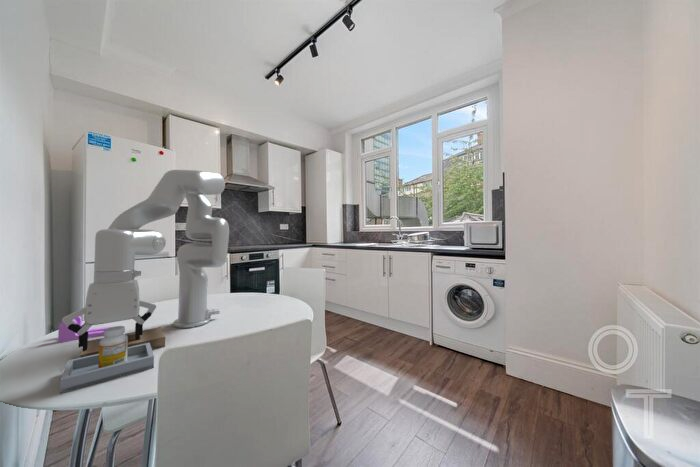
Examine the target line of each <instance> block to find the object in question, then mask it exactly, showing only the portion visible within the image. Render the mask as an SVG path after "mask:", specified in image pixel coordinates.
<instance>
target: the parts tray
mask: <svg viewBox="0 0 700 467" xmlns="http://www.w3.org/2000/svg"><path fill="white" fill-rule="evenodd" d="M153 352H154V351H153V349H152V348H151V345H150V343H145V344H141V345H136V346H132V347H128V351H127V362H123V363H118V364H114V365H110V366H106V367H102V368H98V360H99V354H95V355H91V356H86V357H82V358H80V357H78V358H74V359H69V360H67V362H66V364H65V367H64V370H63V372H62V375H61V378H60V388H59V390H60V391H59V394H64V393H67V392H71V391H74V390H77V389H82V388H84V387H85V388H86V387H89V386H91V385H96V384H99V383H102V382H107V381H110V380H111V381H112V380H114V379H117V378H120V377H121V378H122V377H125V376H128V375H132V374H135V373H139V372H143V371H148V370H150V369H153V368H154V364H155V355H154V353H153ZM63 392H64V393H63Z"/></svg>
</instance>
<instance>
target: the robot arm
mask: <svg viewBox="0 0 700 467" xmlns="http://www.w3.org/2000/svg"><path fill="white" fill-rule="evenodd" d="M225 187H226V182H225V178H224V177H223V175H221V174H220V173H218V172H213V171H203V170H195V169H194V170H193V169H170V170H168V171H167V172H165V173H164V174H163V176H161V178H160V179H159V182H158V183H157V184H156V185H155V187H154V189H153V191H151V193H150V195H149V196H148V197H147V198H146V199H144V200H143V201H141V202H138V203H137V204H135V205H133V206H132V207H130V208H129V207H128V209H126V210H125V211H123V212H121V213H120V214H119V215H118V216H117V217H115V219H114V220H113V221H112V222H111V224H110V226H109V227H108V228H107V229H105V228H104V229H100V230H98V231H97V232H96V234H95V238H94V240H95V241H94V264H93V282H92V283H89V285H88V288H87V293H86V298H85V305H84V307H82V308H80V309H78V310H76V311H74V312H72V313H69V314H67V315H66V316H64V317H62V319H61V322H63V323H64V324H65V325H66V326H67V327H68V329H69V330H71V331H73V332H75V333H77V335H79V339H78V348H81V351H86V350H87V347H88V341H89V338H88V332H87V330H88V329H91V327H92V326H97V325H104V324H109V323H115V322H123V321H128V320H133V321H135V327H134V332H135V339H136V340H139V335H142V333H143V330H144V329H143V328H144V323H145V322H146V321H147V320H149V318H150V317H152V314H153V313H154V311H155V310H156V308H157V305H156V304H154V303H150V302H147V301H143V300H140V286H139V282H138V279H136V278H137V277H141V276H142V270H139V271H138V270H136V269H135V262H136V261H135V259H136V258H135V257H136V256H154V255H157V254H159V253H161V252H162V251H163V250H164V249H165V247H166V241H167V240H166V237H165V235H163V234H162V233H161V232H159V231H157V230H154V229H153V230H152V229H140V228H142V227H144V226H146V225H147V224H149V223H152V222H156V221H159V220H162V219H163V220H164V219H165V218H168V217H172V216H173V215H174V216H175V214H177V212H178V211H179V209H180V207H181V205H182V203H183V202H184V199H186V202H187V214H186V222H185V236H186V238H188V239H189V240H192V241H211V242H212V243H204V242H203V243H199V242H197V243H196V242H195V243H193V242H191V243H185V244H183V245H181V246H180V247H179V248H178V250H177V253H176V259H177V266H178V270H179V281H178V282H179V283H178V286H179V287H178V315H177V316H178V317H177V318H176V319H175V320H174V321H173V322H172V325H173V327H174V328H180V329H184V328H185V329H186V328H187V329H188V328H195V326H196V327H200V326H202V325H206V324H208V323H210V322H211V318H212V317H211V316H212V315H213V316H214V315H219V314H220V309H219V308H218V309H212V308H211V309H208V308H207V307H208V306H207V305H208V275H207V273H206V271H205V270H204V268H221V267H223V266H224V265H225V263H226V262H227V259H228V258H227V257H228V249H229V241H230V240H229V238H230V226H229V222H228V221H227V219H225V218H222V217H218V216H217V217H213V216H212V215H213V214H212V212H213V206H212V203H211V201H210V200H209V199H208V197H207V196H212V195H221V194H222V193H223V192H224V190H225ZM140 308H145V309H147V311H146V312H145V313H144V314H142V315H140ZM83 315H84V317H83V318H84V320H83V321H84V323H82V326H80V325H78V324H76V323H74V321H73V319H75V318H77V317H79V316H83ZM82 347H83V348H82Z"/></svg>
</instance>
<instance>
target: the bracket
mask: <svg viewBox="0 0 700 467" xmlns="http://www.w3.org/2000/svg"><path fill="white" fill-rule="evenodd" d="M81 316H82V315H81ZM81 316H79V317H77V318H75V319H73V321H74V323H76V324H78V325H80V326H82V325H83V317H81ZM110 327H111V326H107V327H105V326H104V327H98V328H89V329H88V330H87V332H88V339H91V338H97V337H98V338H99V337H104V336H103V335H104V330H105V329H107V328H110ZM57 336H58V337H57V338H58V340H57V343H63V342H70V341H77V340H78V341H79V335H77V333H75V332H73V331H71V330H69V329H68V327H67V326H66V325H65V324H64V323H63V322H62V321H61V322H60V323H59V324H58V334H57Z"/></svg>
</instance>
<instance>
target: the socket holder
mask: <svg viewBox="0 0 700 467" xmlns="http://www.w3.org/2000/svg"><path fill="white" fill-rule="evenodd" d="M125 334H126V335H127V336H128V347H132V346H136V345H141V344H145V343H150V345H151V348H152V350H155V349H159V347H160V348H164V347H166V335H165V334H164V331H163V329H162V327H161V326H159V327H153V328H149V329H143V333H142V335H139V340H136V339H135V331H132V332H127V333H125ZM103 338H104V337H102V338H101V337H100V338H96V339H91V340H89V339H88V347H87V350H86V351H82V350H81V351H80V354H79V355H80V357H79V358H82V357H86V356H91V355H95V354H99V342H100V340H101V339H103ZM82 348H83V347H81V349H82Z"/></svg>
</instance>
